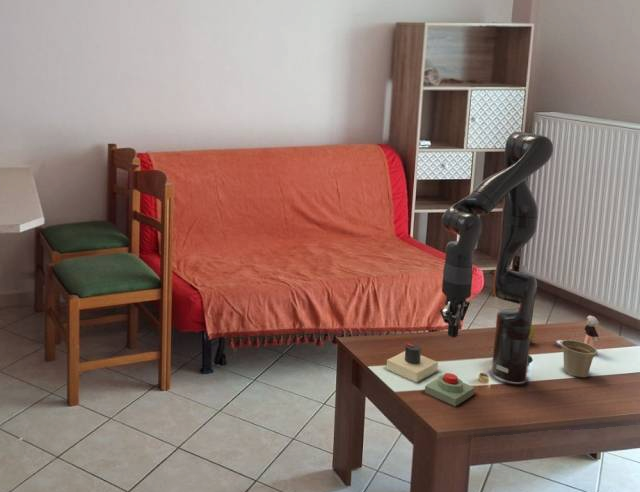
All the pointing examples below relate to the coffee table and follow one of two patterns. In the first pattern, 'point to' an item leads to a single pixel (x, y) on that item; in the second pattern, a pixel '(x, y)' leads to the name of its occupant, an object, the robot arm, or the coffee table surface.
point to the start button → (450, 378)
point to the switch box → (449, 391)
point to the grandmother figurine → (591, 331)
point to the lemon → (532, 333)
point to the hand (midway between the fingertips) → (452, 336)
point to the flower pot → (577, 357)
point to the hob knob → (412, 353)
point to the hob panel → (412, 367)
